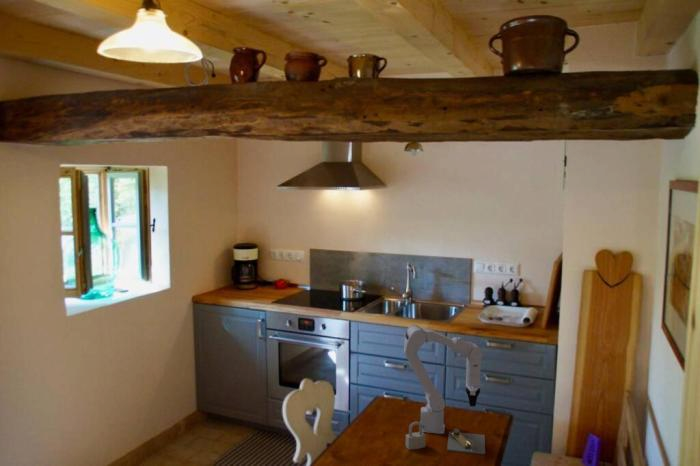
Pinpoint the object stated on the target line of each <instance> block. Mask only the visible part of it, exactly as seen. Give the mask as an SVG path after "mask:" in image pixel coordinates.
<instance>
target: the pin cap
mask: <svg viewBox="0 0 700 466" xmlns="http://www.w3.org/2000/svg"><path fill="white" fill-rule="evenodd" d="M453 432H454V434H459V432H460V429H459V428H454V429H453Z"/></svg>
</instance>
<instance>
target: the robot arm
mask: <svg viewBox="0 0 700 466" xmlns="http://www.w3.org/2000/svg"><path fill="white" fill-rule="evenodd" d="M430 342H436V343H438V344H441V345H444V346H446V347H448V348H449V350H450V351H452V352H453V353H456V354H459V355H461V356H464V357H466V363H465V364H466V365H465V366H466V369H465V371H466V373H465V387H466V388H465V394H467V397H468V403H469V407H476V405H477V400H478V397H479V395H480V393H481V388H483V387H484V384H483V383H481V369H482V366H481V365H482V363H481V361H482V358H483V357H484V353H483V350H482V349H481V348H480V347H479V346H478V345H477V344H476V343H474V342H472V341H466V340H464V339H463V338H462V337H461V336H458V337H457V336H455V337H452V338H451V337H448V336H446V335H443V334H441V333H439V332H437V331H435V330H433V329H429V328H427V327H424V326H419V325H418V324H410V325H408V327H407V329H406V331H405V332H404V343H403V344H404V345H403V354H404V355H405V357H406V360H407V361H408V363H409V364H410V366H411V368H412V370H413V372H414V374H415V377H416V378H417V380H418V382H419V384H420V385H421V388H422V390H423V392H424V399H425V400H426V402H427V403H426V405H425V406H422V407H421V408H420V420H419V422H420V423H421V424H422V432H423V433H428V434H429V433H430V434H437V435H439V434H441V435H444V434H445V428H446V425H445V424H444V423H445V422H444V420H445V418H444V417H445V415H444V414H445V413H444V409H445V407H446V401H445V398H444V397H443V396H442V395H441V393H440V390H438V389H437V388H436V387H435V385H434V383H433V382H432V380H431V377H430V376H429V374H428V372H427V370H426V368H425V366H424V364H423V362H422V360H421V358H420V356H419V354H418V353H419V351H420V348H421V347H422V346H423V345H424V344H425V343H426V344H428V343H430Z"/></svg>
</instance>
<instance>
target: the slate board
mask: <svg viewBox="0 0 700 466" xmlns="http://www.w3.org/2000/svg"><path fill="white" fill-rule="evenodd" d="M452 432H453V431H448V440H447V447H446V450H447V452H456V453H464V454H465V453H466V454H475V455H486V435H485V434H477V433H467V432H460V433H461V435H462V436H463V437H465V438H466V439H471V440H473V441H474V442H475V443H476V450H471V449H470V447H467V448H464V447H463V446H462V445H461V444H460V443H459V442H458V441H457V440H456V439H455V438H454V437H452Z"/></svg>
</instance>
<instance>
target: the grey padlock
mask: <svg viewBox="0 0 700 466" xmlns="http://www.w3.org/2000/svg"><path fill="white" fill-rule="evenodd" d="M414 426H418V431H417V432H416V431H415V432H413V427H414ZM405 447H406V449H407V450H409V451H410V450H418V449H422V448H425V447H426V434H425V432H422V424H421V423H420V421H413V422H411V424H410V425H409V427H408V433H406V434H405Z"/></svg>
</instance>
